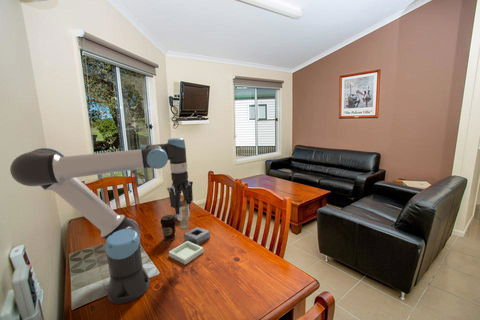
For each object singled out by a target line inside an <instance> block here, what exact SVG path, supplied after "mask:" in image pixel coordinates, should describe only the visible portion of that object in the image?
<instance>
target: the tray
mask: <svg viewBox="0 0 480 320" xmlns="http://www.w3.org/2000/svg"><path fill="white" fill-rule="evenodd" d="M204 249H205V248H204V247H203V246H200V245H196V244H194V243H191V242H189V241H184V242H182V243H181V244H180V245H178V246H177V247H174V248H172V249H171V250H169V251H168V256H169V257H170V258H171V259H174V260H175V261H178V262H180V263H182V264H183V265H185V266H186V265H187V264H188V263H190V262H191V261H193V260H194V259H196V258H197V257H199V256H201V255H202V254H203V253H205V252H204Z"/></svg>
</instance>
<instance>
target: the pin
mask: <svg viewBox="0 0 480 320" xmlns="http://www.w3.org/2000/svg"><path fill="white" fill-rule="evenodd" d="M180 207H181V211H182V221H180V222H179V226H180V230H181V231H186V230H189V228H190V225H189V223H190V222H189V218H188V212H187V201H186V200H184V199H180Z"/></svg>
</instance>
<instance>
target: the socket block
mask: <svg viewBox="0 0 480 320" xmlns="http://www.w3.org/2000/svg"><path fill="white" fill-rule="evenodd" d="M210 232H211V231H210V230H209V229H206V228H202V227H199V226H195V227H194V228H192V229H191V230H188V231H187V232H184V233H183V239H184V242H186V241H189V242H191V243H194V244H196V245H198V246H200V245H201V244H203V243H205V241H207V240H209V239H210V238H211V233H210Z"/></svg>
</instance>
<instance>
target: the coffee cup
mask: <svg viewBox="0 0 480 320" xmlns="http://www.w3.org/2000/svg"><path fill="white" fill-rule="evenodd" d="M176 220H177V219H176V218H175V216H174V214H167V215H164V216H161V218H160V221H159V223H160V225H161V230H162V235H163V240H164V241H168V242H169V241H174V240H175V239H176V234H175V233H176V231H177V224H176Z"/></svg>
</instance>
